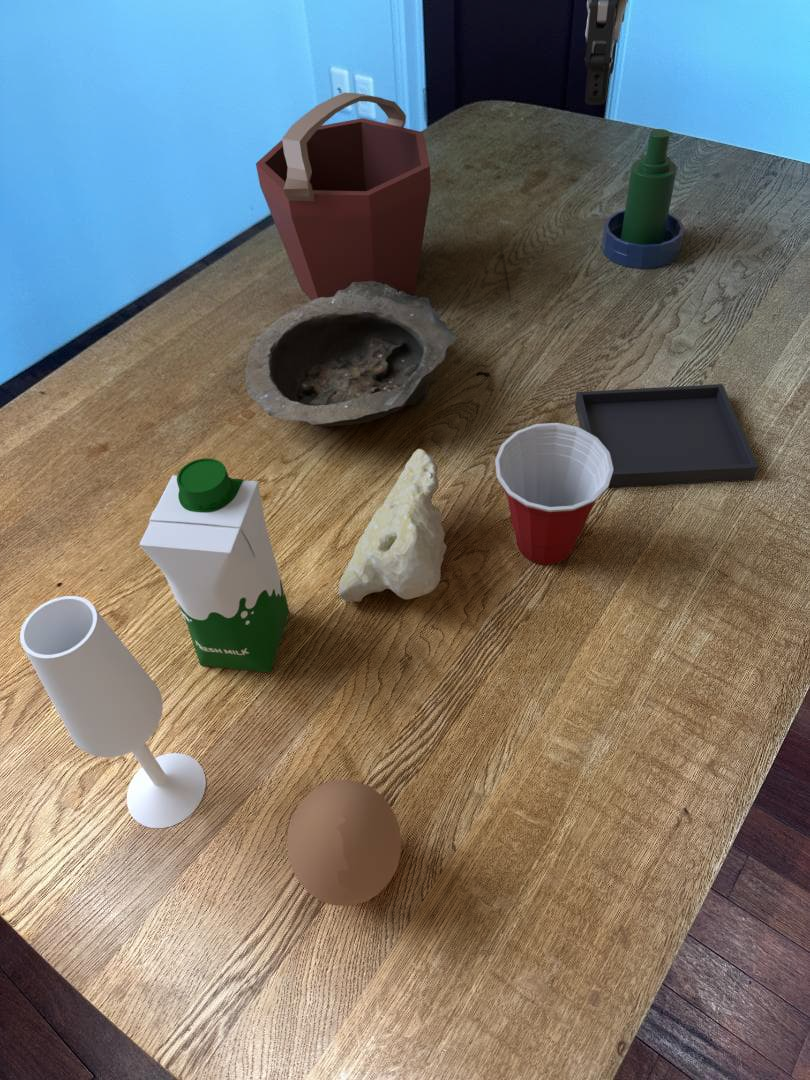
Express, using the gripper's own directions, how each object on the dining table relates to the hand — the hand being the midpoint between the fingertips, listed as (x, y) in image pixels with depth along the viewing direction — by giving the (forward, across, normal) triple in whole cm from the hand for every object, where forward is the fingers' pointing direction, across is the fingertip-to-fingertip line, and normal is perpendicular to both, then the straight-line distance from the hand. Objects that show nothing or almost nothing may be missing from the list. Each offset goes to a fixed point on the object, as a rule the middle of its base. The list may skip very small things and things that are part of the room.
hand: (599, 88), depth 91 cm
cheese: (+28, -48, +12) cm, 57 cm away
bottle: (+28, +16, -7) cm, 33 cm away
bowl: (+28, +16, -7) cm, 33 cm away
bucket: (+28, 0, +32) cm, 42 cm away
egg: (+28, -80, +8) cm, 85 cm away
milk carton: (+28, -62, +24) cm, 72 cm away
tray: (+28, -26, -12) cm, 40 cm away
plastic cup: (+28, -44, -2) cm, 52 cm away
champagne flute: (+28, -77, +25) cm, 86 cm away
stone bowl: (+28, -24, +25) cm, 45 cm away
